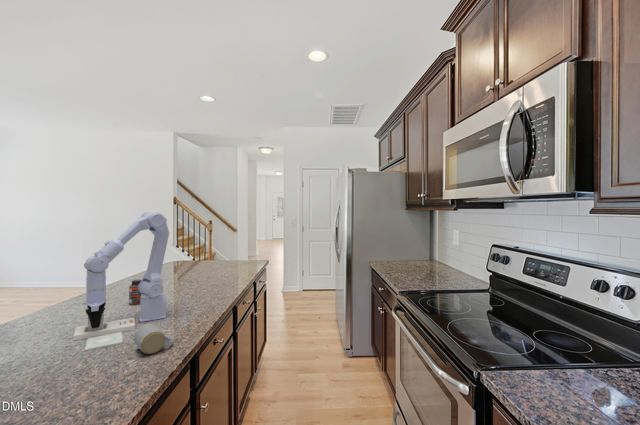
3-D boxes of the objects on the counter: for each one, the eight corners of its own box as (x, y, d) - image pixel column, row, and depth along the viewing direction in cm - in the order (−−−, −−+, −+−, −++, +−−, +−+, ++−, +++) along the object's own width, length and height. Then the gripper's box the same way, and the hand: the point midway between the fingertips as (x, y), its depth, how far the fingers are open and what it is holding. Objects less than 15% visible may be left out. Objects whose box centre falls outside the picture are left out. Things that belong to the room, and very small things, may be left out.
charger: (103, 329, 113) (103, 310, 113) (103, 332, 110) (103, 313, 110) (88, 331, 111) (88, 312, 111) (87, 335, 108) (87, 315, 108)
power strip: (133, 321, 121) (133, 316, 121) (134, 329, 113) (134, 323, 113) (76, 331, 111) (76, 325, 111) (73, 340, 103) (73, 334, 103)
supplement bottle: (130, 306, 141) (130, 282, 141) (127, 303, 145) (128, 280, 145) (144, 303, 145) (144, 280, 145) (142, 301, 149) (142, 278, 149)
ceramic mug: (141, 358, 91) (141, 333, 91) (133, 350, 96) (133, 326, 96) (177, 348, 98) (177, 324, 98) (168, 340, 104) (168, 318, 104)
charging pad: (122, 333, 109) (122, 331, 109) (122, 343, 101) (122, 341, 101) (87, 340, 104) (87, 338, 104) (84, 351, 95) (84, 349, 95)
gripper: (84, 286, 114) (84, 321, 114) (80, 294, 102) (80, 334, 102) (107, 283, 118) (106, 318, 118) (105, 291, 106) (105, 330, 106)
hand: (96, 325), depth 110 cm, fingers open, 4 cm apart
